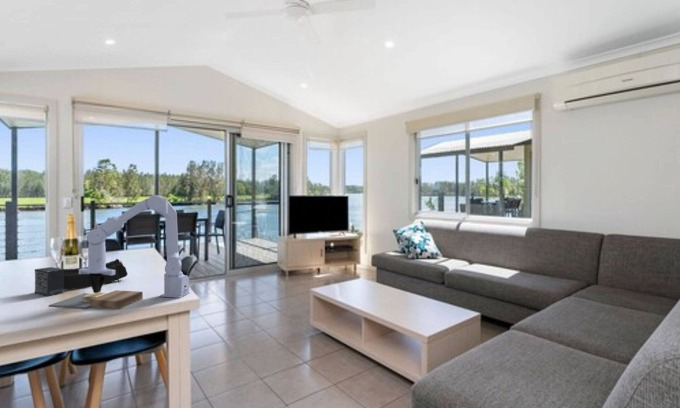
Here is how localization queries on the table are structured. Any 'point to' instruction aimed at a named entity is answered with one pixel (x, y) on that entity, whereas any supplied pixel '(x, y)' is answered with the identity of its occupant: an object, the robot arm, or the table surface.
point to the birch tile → (91, 296)
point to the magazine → (80, 280)
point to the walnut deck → (116, 299)
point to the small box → (49, 281)
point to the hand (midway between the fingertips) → (97, 292)
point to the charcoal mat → (73, 302)
